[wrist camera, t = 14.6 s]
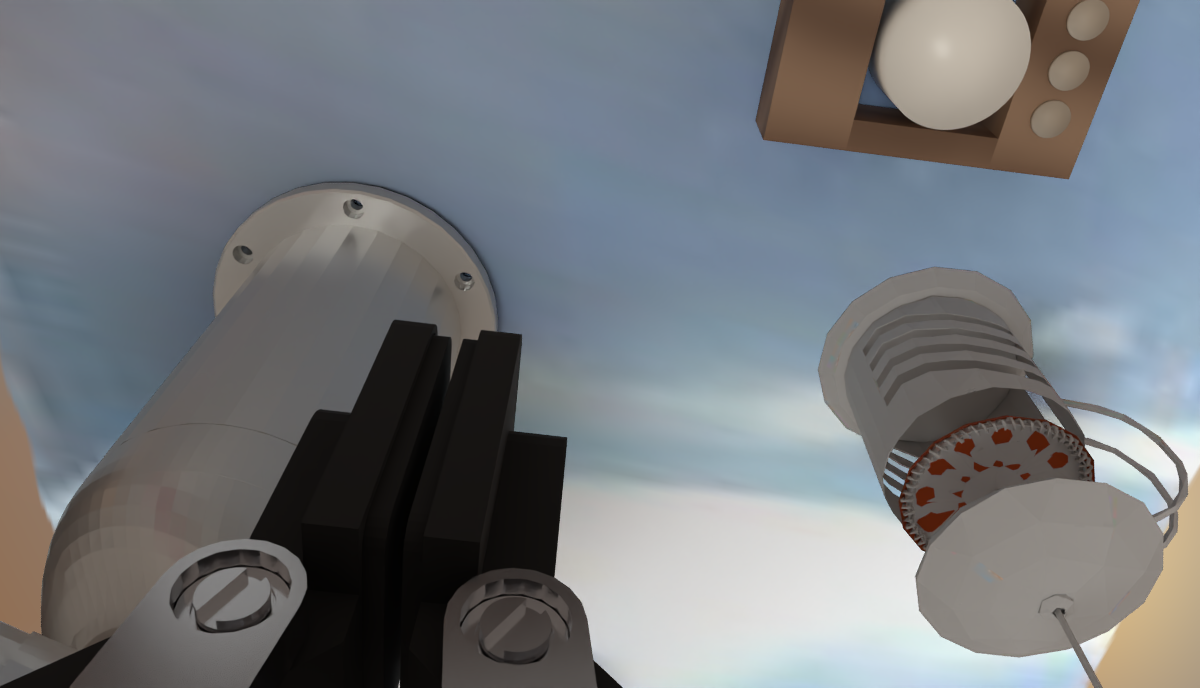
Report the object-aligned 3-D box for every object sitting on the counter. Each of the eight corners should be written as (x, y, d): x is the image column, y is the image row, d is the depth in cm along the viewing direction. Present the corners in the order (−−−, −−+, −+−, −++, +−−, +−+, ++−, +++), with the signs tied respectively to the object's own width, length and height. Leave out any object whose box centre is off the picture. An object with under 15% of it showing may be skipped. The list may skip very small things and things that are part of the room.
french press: (820, 275, 41) (1037, 798, 19) (1091, 255, 40) (1632, 778, 19) (815, 453, 46) (983, 1030, 24) (1056, 439, 45) (1452, 1022, 24)
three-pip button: (974, 113, 37) (1002, 137, 34) (851, 96, 37) (869, 120, 34) (1018, -19, 34) (1052, -4, 32) (886, -38, 34) (909, -24, 31)
